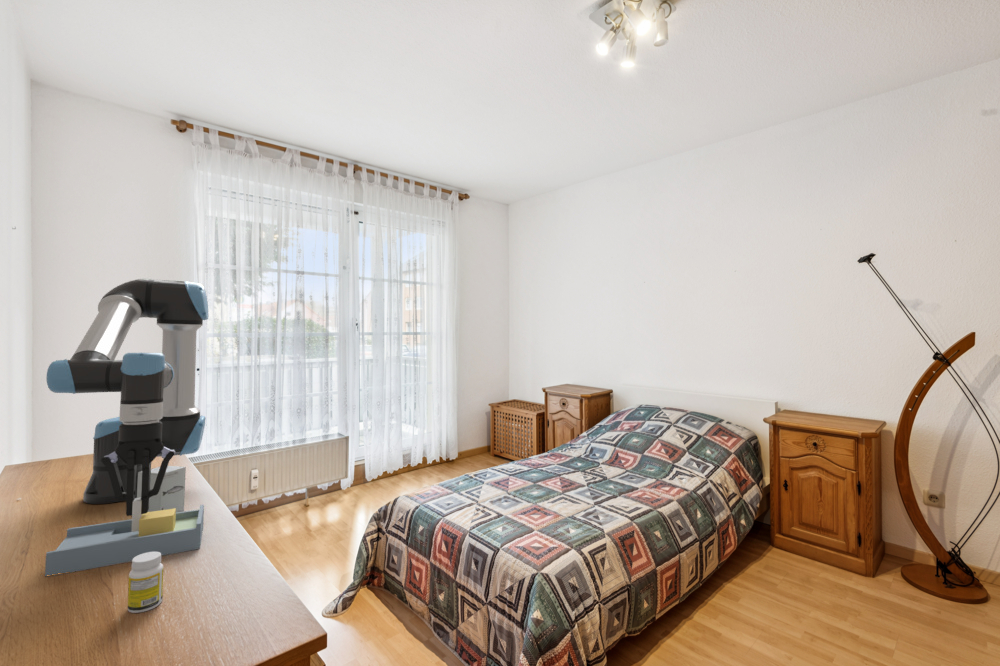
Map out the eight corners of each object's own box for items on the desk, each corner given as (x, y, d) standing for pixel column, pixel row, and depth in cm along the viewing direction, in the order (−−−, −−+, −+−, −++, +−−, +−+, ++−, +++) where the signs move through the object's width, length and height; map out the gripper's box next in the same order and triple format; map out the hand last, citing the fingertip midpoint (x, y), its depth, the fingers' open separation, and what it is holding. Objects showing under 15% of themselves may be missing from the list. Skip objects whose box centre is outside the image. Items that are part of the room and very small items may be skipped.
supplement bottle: (140, 598, 79) (142, 550, 79) (168, 597, 79) (170, 549, 80) (119, 614, 74) (122, 563, 74) (149, 613, 75) (152, 562, 75)
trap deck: (67, 549, 97) (68, 523, 97) (203, 526, 110) (204, 504, 110) (44, 577, 86) (46, 548, 86) (199, 548, 98) (200, 523, 99)
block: (142, 530, 100) (143, 512, 100) (175, 525, 103) (176, 508, 104) (138, 538, 96) (139, 520, 96) (172, 533, 99) (173, 515, 99)
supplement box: (158, 524, 111) (160, 473, 112) (134, 522, 113) (136, 471, 113) (185, 514, 118) (186, 466, 119) (162, 511, 120) (163, 464, 120)
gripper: (98, 426, 92) (93, 541, 92) (175, 422, 99) (171, 529, 98) (107, 421, 99) (102, 528, 98) (179, 417, 106) (175, 518, 105)
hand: (136, 529), depth 98 cm, fingers closed
